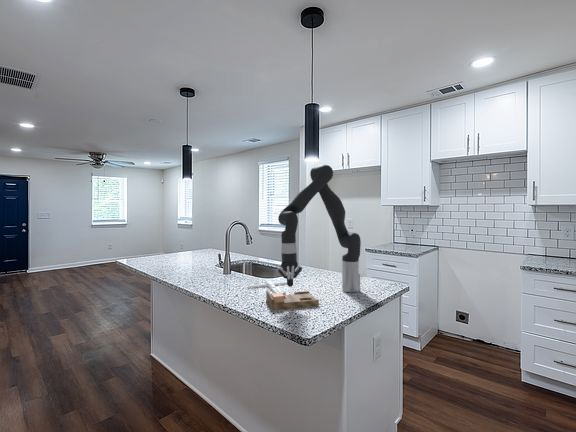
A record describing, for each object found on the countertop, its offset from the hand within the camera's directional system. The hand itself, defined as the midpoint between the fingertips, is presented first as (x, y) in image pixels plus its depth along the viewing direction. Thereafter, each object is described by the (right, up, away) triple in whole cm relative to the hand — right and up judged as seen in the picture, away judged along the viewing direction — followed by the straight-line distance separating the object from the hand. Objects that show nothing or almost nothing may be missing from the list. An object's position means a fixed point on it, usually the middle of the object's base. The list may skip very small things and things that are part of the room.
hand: (290, 286), depth 151 cm
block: (-6, -7, -4) cm, 10 cm away
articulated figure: (-9, -9, +26) cm, 29 cm away
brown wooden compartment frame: (+1, -9, +2) cm, 9 cm away
